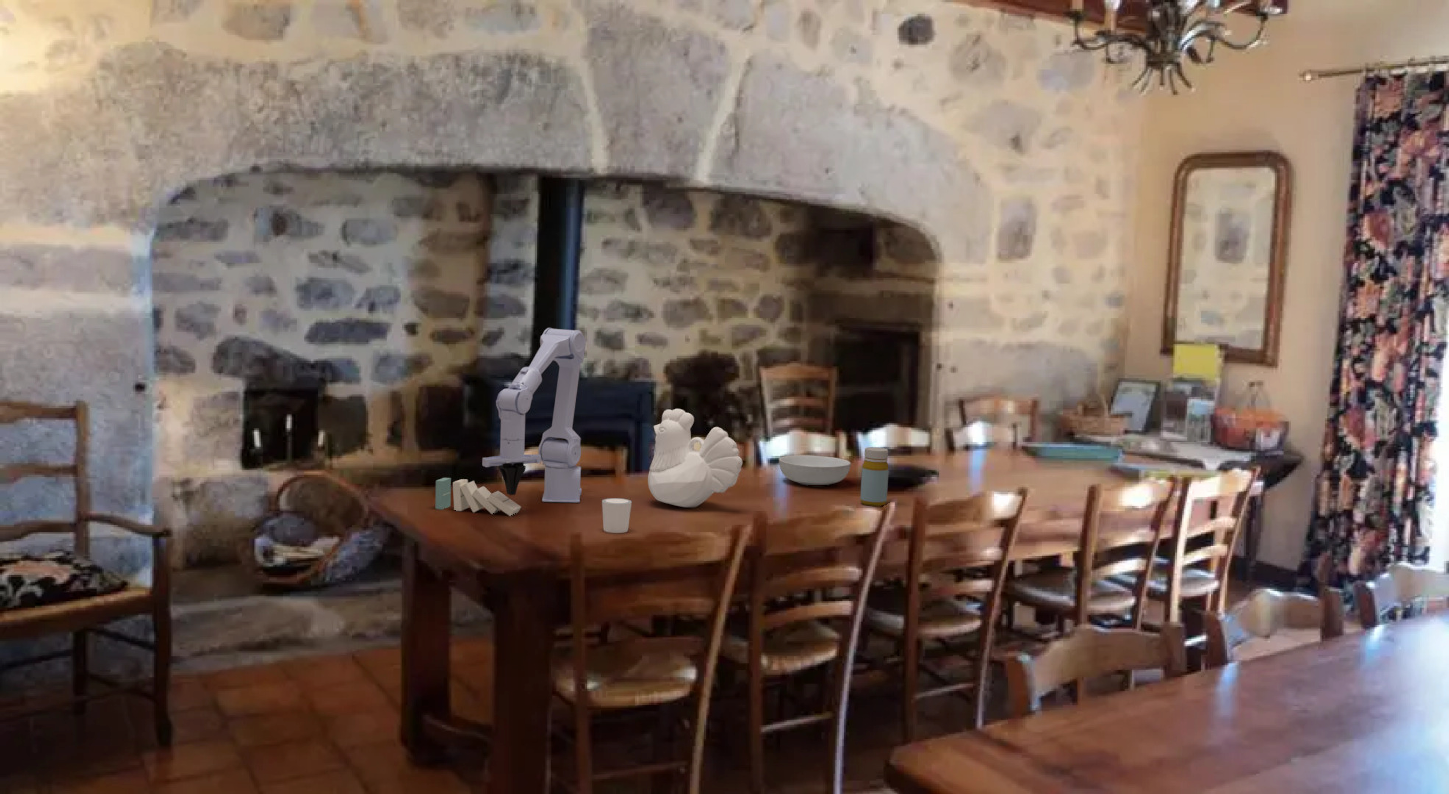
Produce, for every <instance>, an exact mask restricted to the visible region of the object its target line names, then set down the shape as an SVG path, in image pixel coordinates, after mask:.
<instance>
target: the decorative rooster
mask: <svg viewBox="0 0 1449 794" xmlns="http://www.w3.org/2000/svg"><path fill="white" fill-rule="evenodd" d="M694 422H695V417H694V415H693V414H691V413H689V412H686V411H685V410H684V409H681V408H675V409H665V410H664V411H663V413H662V415H661V422H660V423H659V424H655V425H653V429H654V433H655V437H654V439H655V440H654V441H655V444H654V450H655V452H654V456H653V459H652V461H651V464H650V466H649V472H648V475H647V485H648V489H649V491H650V493H651V495H652V496H653V497H654V498H655V500H657V501H658V502H662V503H665V504H669V505H673V506H676V507H677V506H678V507H682V508H697V507H698V506H701V504H702V503H704V502H706V501H707V500H708V499H709V498H710V497H711V496H712V495H713V494H714V493H721V494H724V493H725V492H726V491H727V490H728V489H729V488H731V487H734V485H736V484H737V482H738V481H737V480H738V478H739V474H740V473H741V471H742V465H743V459H742V458H741V457H740V456H739V454H740V450H739V449H738V444H737V443H736V441H734V439H732V437H729V434H728V431H726V430H724V429H723V428H721V427H719V426H715V427H713V428H711V430H710V431H709V433H708V434H707V435H706V437H705V439H703V438H702V437H699V436H696V437H693V438H691V437H692V434H691V429H692V426H693V424H694ZM696 443H698V444H699V445H700V448H699V450H695V448H694V447H695V444H696Z"/></svg>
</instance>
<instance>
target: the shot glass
mask: <svg viewBox="0 0 1449 794" xmlns="http://www.w3.org/2000/svg"><path fill="white" fill-rule="evenodd" d="M601 505H602V524H603V527H602V528H603V531H604V532H606V533H611V534H612V533H613V534H620V533H621V534H623V533H627V532H628V531H629V524H630V516H631V510H632V500H630V499H627V498H619V497H617V498H616V497H613V498H612V497H611V498H604V499H602V500H601Z"/></svg>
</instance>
